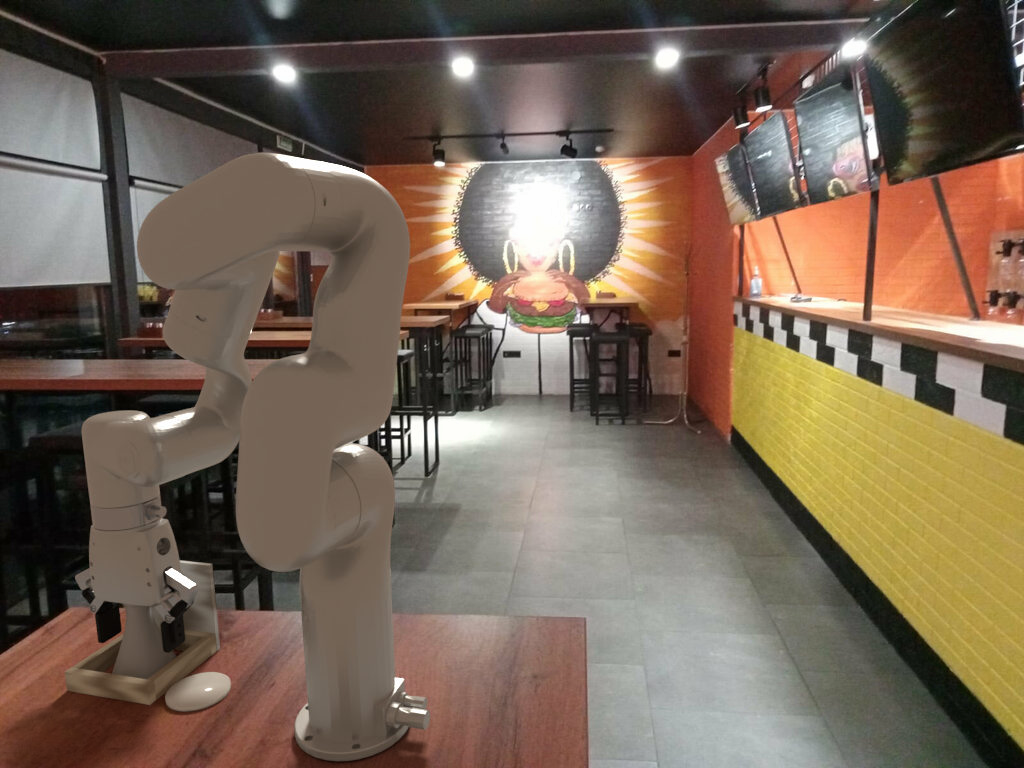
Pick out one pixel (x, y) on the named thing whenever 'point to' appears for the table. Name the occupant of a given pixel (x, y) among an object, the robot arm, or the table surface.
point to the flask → (141, 645)
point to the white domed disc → (198, 691)
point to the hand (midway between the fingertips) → (142, 642)
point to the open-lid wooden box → (196, 649)
